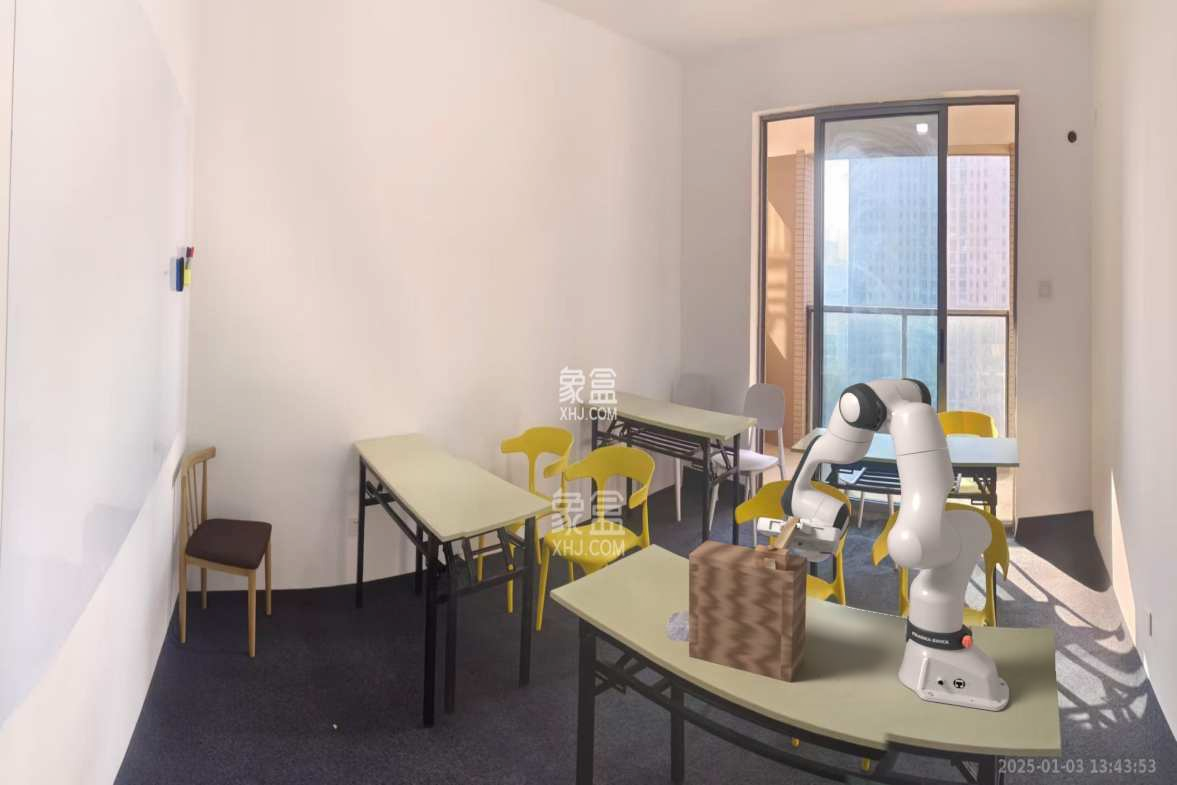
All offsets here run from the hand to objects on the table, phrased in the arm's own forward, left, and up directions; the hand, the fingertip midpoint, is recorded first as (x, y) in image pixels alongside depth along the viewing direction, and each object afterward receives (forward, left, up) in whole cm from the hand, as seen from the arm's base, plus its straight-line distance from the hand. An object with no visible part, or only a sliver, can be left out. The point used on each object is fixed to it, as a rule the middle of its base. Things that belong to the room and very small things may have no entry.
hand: (791, 524), depth 189 cm
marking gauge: (0, +6, -3) cm, 7 cm away
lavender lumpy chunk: (+26, +5, -32) cm, 41 cm away
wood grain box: (+7, +11, -31) cm, 34 cm away
